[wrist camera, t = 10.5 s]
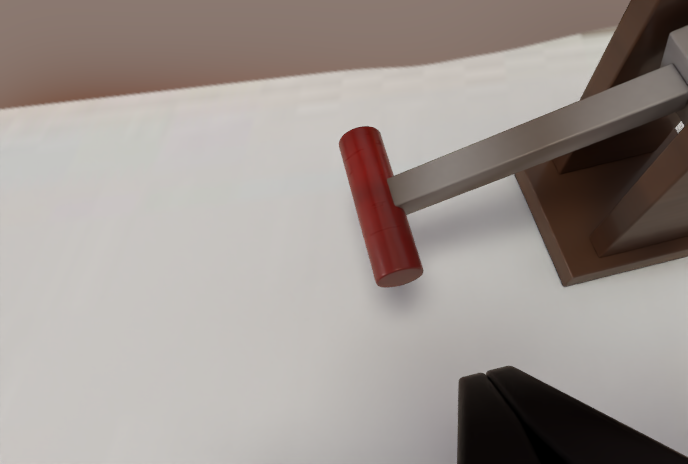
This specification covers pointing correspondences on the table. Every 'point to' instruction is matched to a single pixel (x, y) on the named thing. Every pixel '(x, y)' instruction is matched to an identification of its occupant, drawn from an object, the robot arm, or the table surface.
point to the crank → (496, 158)
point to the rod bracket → (618, 170)
